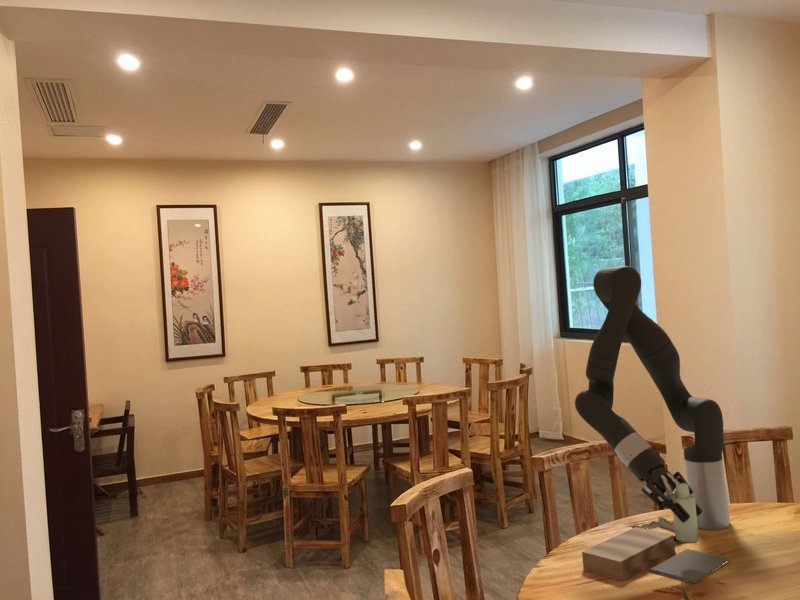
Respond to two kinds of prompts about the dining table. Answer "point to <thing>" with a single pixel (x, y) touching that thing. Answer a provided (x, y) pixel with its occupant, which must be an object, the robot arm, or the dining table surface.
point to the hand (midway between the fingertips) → (693, 516)
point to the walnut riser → (628, 553)
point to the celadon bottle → (690, 527)
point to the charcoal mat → (689, 565)
